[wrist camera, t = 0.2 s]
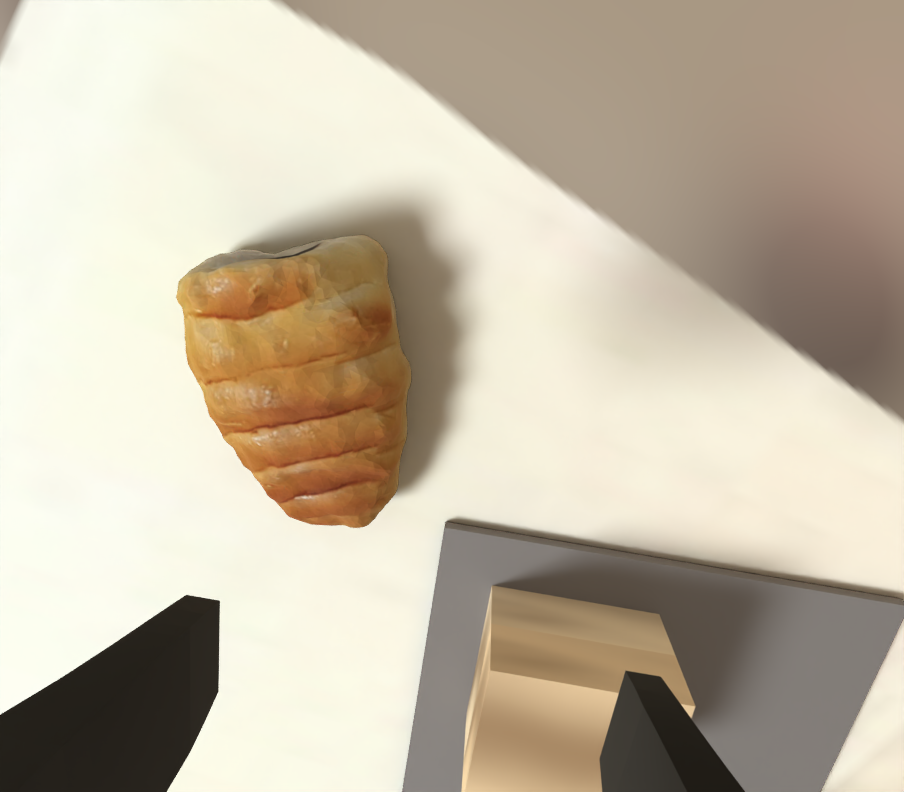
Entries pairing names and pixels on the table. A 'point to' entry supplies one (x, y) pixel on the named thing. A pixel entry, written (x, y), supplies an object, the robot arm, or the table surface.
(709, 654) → the mat
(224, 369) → the pastry
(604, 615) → the tower base slab
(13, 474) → the table surface
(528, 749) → the tower top slab
